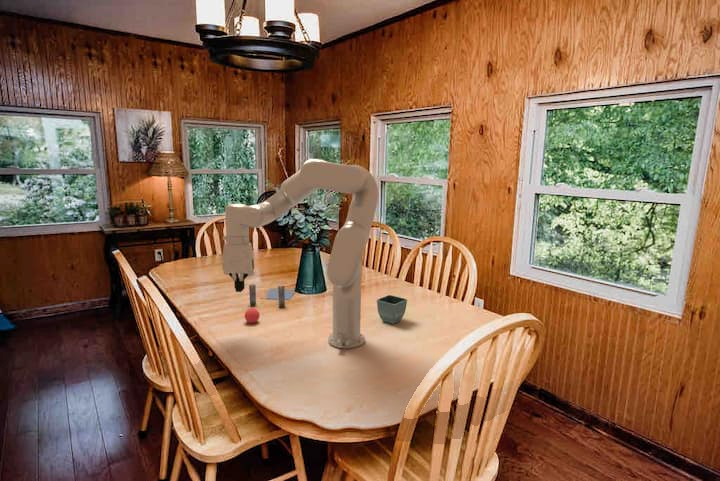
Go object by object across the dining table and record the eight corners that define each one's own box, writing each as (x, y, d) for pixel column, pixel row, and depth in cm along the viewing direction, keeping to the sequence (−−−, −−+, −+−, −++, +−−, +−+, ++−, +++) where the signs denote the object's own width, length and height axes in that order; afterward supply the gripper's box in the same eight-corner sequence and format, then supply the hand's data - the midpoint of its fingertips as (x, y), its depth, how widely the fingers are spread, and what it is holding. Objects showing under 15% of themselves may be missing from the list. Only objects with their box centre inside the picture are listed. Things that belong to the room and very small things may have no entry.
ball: (256, 325, 155) (256, 311, 154) (242, 324, 155) (242, 311, 154) (261, 320, 160) (261, 306, 159) (248, 319, 161) (247, 305, 160)
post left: (255, 306, 175) (254, 286, 173) (249, 306, 175) (248, 286, 173) (257, 304, 177) (256, 284, 176) (251, 304, 177) (250, 284, 176)
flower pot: (388, 315, 167) (389, 294, 165) (407, 320, 161) (407, 299, 159) (375, 321, 160) (376, 299, 158) (394, 327, 154) (394, 304, 153)
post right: (284, 308, 173) (283, 287, 172) (278, 307, 174) (277, 287, 172) (285, 305, 176) (285, 285, 174) (279, 305, 176) (279, 285, 175)
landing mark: (289, 299, 184) (289, 299, 184) (258, 298, 185) (258, 298, 185) (297, 290, 197) (297, 289, 197) (268, 289, 199) (268, 288, 199)
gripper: (212, 241, 139) (214, 293, 142) (255, 242, 137) (256, 295, 141) (221, 236, 146) (223, 286, 150) (262, 238, 145) (263, 288, 148)
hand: (239, 290), depth 145 cm, fingers closed
